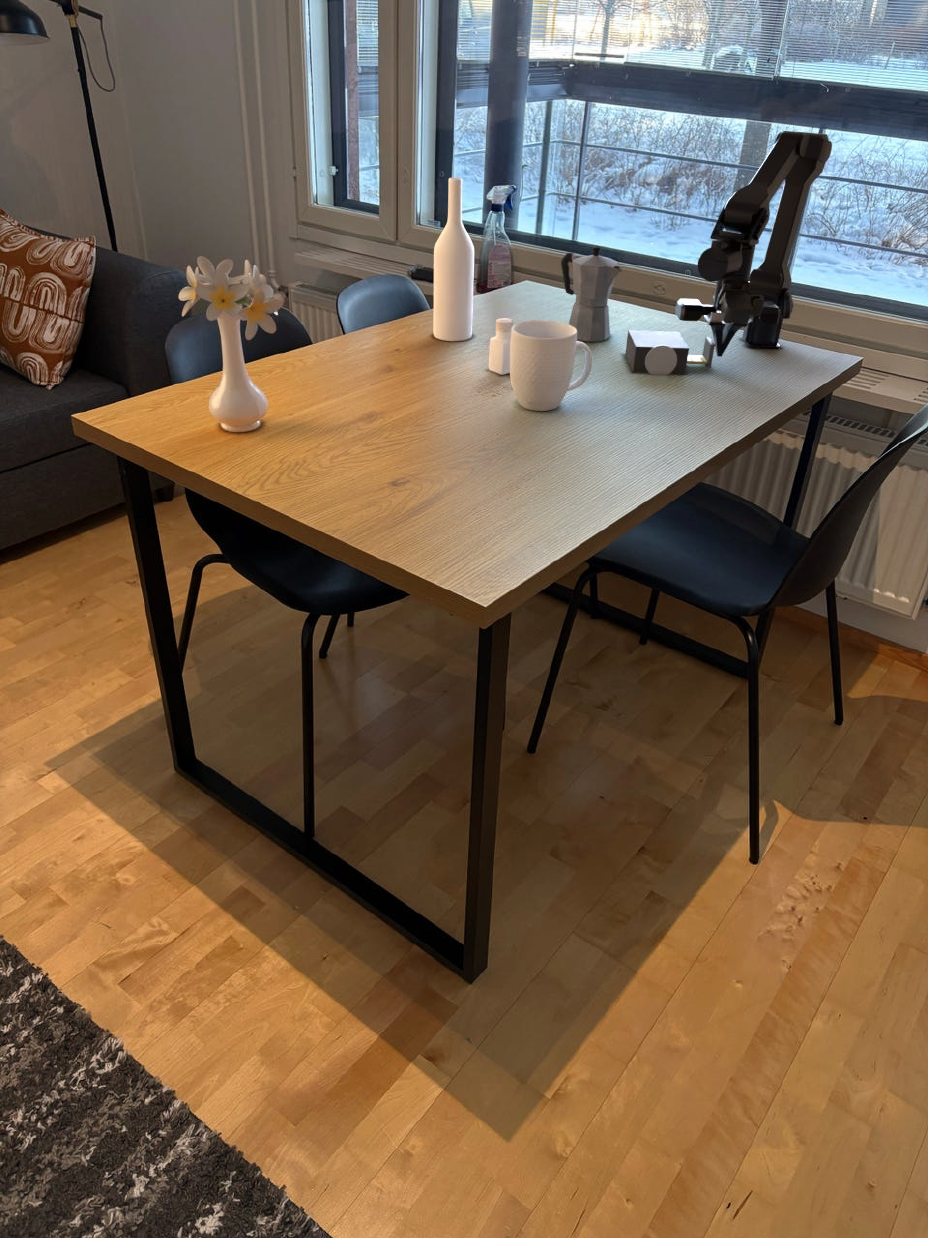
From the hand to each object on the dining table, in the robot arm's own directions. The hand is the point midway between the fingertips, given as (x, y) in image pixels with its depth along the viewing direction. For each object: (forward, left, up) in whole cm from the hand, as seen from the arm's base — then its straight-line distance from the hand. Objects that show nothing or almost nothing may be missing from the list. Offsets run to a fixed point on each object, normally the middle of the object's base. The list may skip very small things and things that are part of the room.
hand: (719, 355), depth 176 cm
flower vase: (+84, +38, -2) cm, 92 cm away
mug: (+35, +24, -2) cm, 43 cm away
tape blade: (+7, 0, -2) cm, 7 cm away
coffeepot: (+24, -19, -2) cm, 31 cm away
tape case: (+12, 0, -2) cm, 12 cm away
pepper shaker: (+42, +7, -2) cm, 43 cm away
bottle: (+52, -15, -2) cm, 55 cm away
